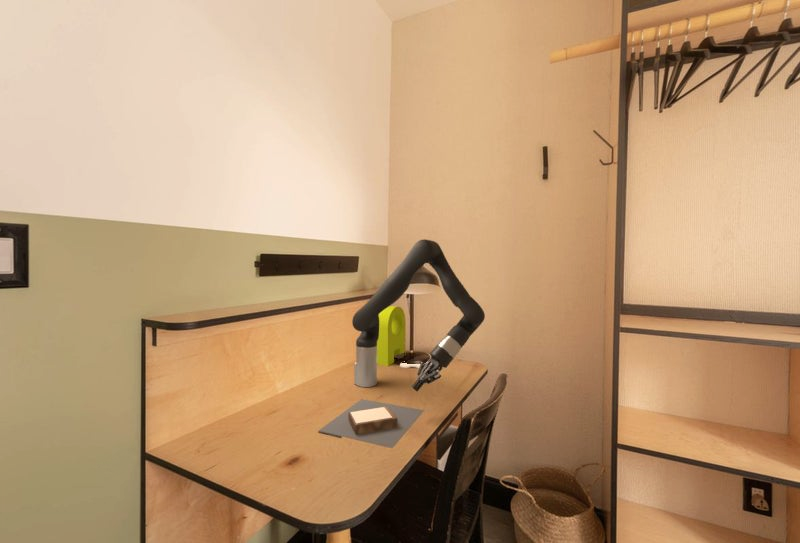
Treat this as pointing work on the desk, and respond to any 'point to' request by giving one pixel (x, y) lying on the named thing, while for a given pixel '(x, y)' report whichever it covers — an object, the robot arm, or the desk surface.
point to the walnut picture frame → (372, 420)
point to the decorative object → (390, 335)
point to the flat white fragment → (409, 365)
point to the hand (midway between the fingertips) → (414, 389)
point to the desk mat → (381, 437)
